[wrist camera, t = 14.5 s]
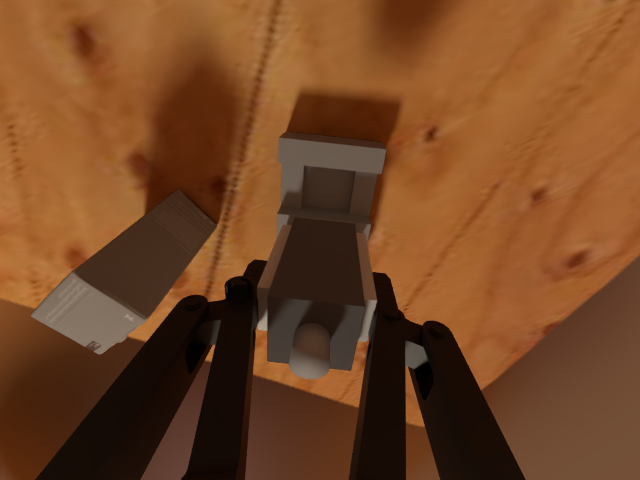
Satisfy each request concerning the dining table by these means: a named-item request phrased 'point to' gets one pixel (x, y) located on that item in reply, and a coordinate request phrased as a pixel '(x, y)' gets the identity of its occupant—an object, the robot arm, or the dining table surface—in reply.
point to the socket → (328, 178)
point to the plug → (316, 299)
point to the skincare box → (127, 276)
